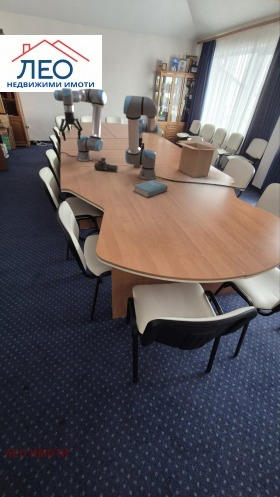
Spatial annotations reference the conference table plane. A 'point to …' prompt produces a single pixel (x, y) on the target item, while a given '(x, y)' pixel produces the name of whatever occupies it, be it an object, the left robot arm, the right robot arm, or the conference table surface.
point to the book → (150, 188)
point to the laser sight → (105, 166)
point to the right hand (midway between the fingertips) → (137, 161)
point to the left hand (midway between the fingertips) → (72, 140)
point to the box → (196, 158)
